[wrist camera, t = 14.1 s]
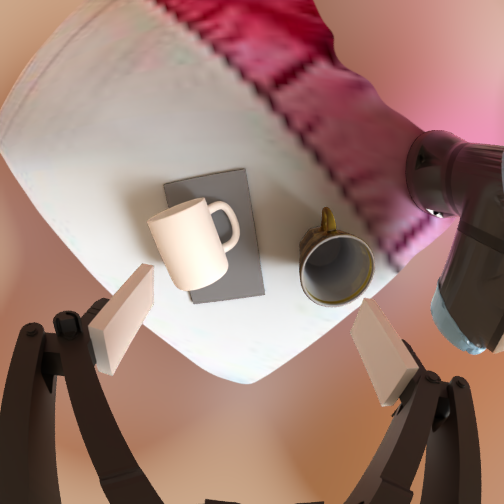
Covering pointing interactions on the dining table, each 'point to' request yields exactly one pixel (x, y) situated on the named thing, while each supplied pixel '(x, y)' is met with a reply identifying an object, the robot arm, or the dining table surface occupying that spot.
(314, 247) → the ceramic cup
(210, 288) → the mat
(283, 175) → the dining table surface
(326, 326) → the dining table surface
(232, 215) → the cup
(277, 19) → the dining table surface
